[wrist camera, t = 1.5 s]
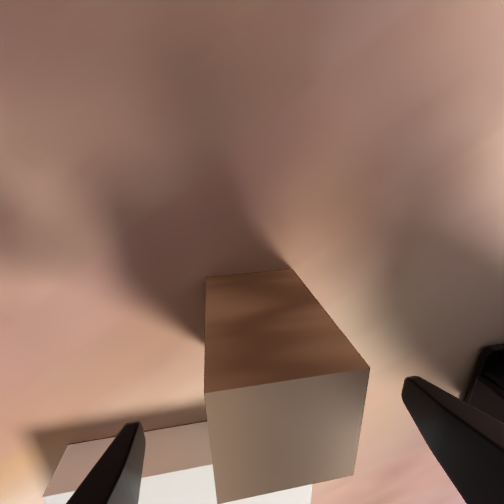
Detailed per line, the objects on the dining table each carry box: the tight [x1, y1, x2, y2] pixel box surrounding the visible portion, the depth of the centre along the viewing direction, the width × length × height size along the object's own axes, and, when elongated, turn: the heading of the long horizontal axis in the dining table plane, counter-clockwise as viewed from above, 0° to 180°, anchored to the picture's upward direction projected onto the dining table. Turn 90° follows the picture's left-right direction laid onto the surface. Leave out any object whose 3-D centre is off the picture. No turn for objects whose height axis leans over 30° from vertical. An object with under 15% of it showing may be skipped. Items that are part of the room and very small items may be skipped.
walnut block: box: [204, 269, 370, 504], centre depth 11 cm, size 4×4×7 cm
